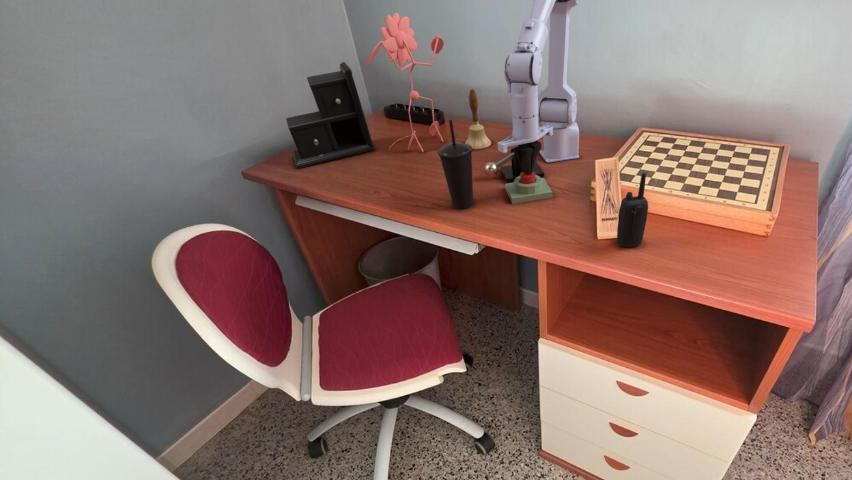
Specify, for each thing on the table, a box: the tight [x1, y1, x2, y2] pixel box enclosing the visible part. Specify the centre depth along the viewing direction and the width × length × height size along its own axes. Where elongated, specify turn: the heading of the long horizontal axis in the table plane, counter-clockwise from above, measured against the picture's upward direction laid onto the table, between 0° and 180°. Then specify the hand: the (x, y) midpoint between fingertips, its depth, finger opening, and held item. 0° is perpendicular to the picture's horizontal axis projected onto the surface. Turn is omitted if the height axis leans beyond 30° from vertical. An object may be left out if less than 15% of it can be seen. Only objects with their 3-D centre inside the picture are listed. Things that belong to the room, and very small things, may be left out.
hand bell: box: [464, 88, 492, 150], centre depth 126 cm, size 8×8×16 cm
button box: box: [504, 175, 554, 205], centre depth 103 cm, size 10×8×4 cm
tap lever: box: [483, 152, 514, 178], centre depth 109 cm, size 12×4×4 cm, turn 102°
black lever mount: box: [499, 149, 545, 184], centre depth 110 cm, size 10×8×8 cm
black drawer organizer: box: [285, 61, 375, 169], centre depth 125 cm, size 23×11×24 cm, turn 116°
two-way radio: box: [616, 172, 649, 248], centre depth 80 cm, size 6×4×15 cm
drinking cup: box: [437, 119, 474, 211], centre depth 96 cm, size 8×8×20 cm
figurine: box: [365, 12, 457, 153], centre depth 123 cm, size 15×26×35 cm, turn 145°
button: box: [520, 172, 535, 184], centre depth 102 cm, size 4×4×2 cm
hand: (527, 172), depth 101 cm, fingers closed
